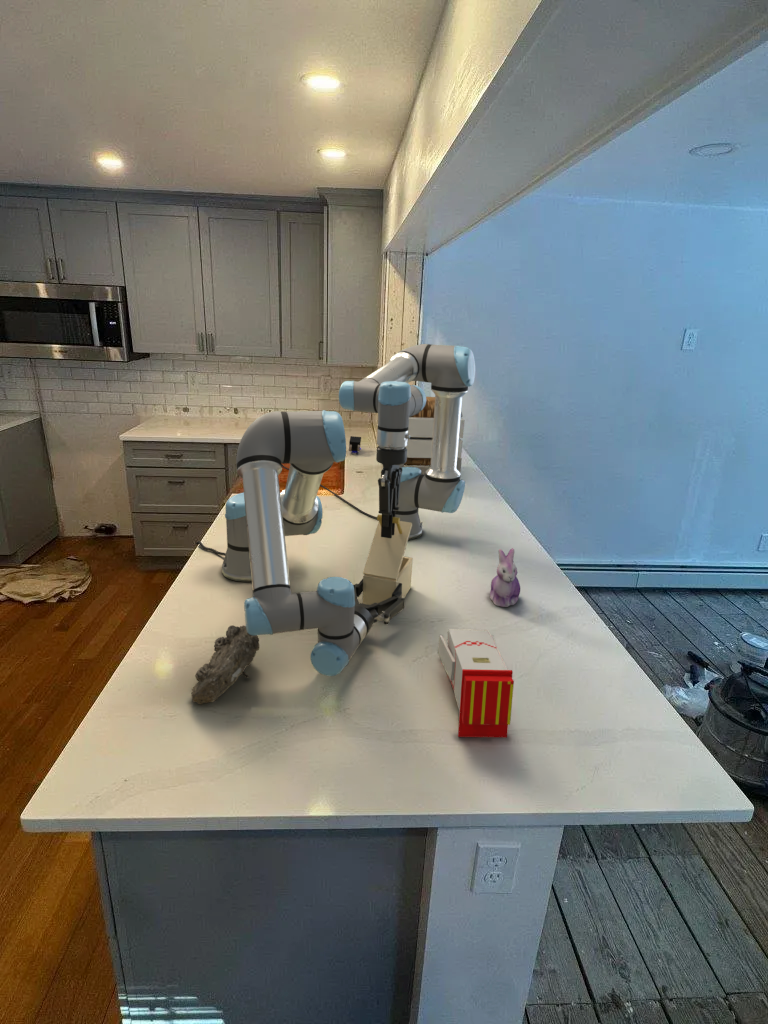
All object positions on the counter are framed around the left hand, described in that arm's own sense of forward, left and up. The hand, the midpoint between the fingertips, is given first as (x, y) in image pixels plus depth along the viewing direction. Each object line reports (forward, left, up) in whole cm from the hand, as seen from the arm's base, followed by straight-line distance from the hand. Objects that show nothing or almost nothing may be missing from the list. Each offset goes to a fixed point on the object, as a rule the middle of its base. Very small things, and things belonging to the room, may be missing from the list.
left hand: (382, 584), depth 149 cm
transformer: (-23, +130, -6) cm, 132 cm away
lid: (0, +4, +9) cm, 9 cm away
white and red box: (+28, -28, -6) cm, 40 cm away
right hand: (0, +2, +13) cm, 13 cm away
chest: (0, +5, -6) cm, 8 cm away
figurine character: (-66, +155, -6) cm, 168 cm away
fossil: (-21, -41, -6) cm, 46 cm away
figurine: (+31, +16, -6) cm, 35 cm away
